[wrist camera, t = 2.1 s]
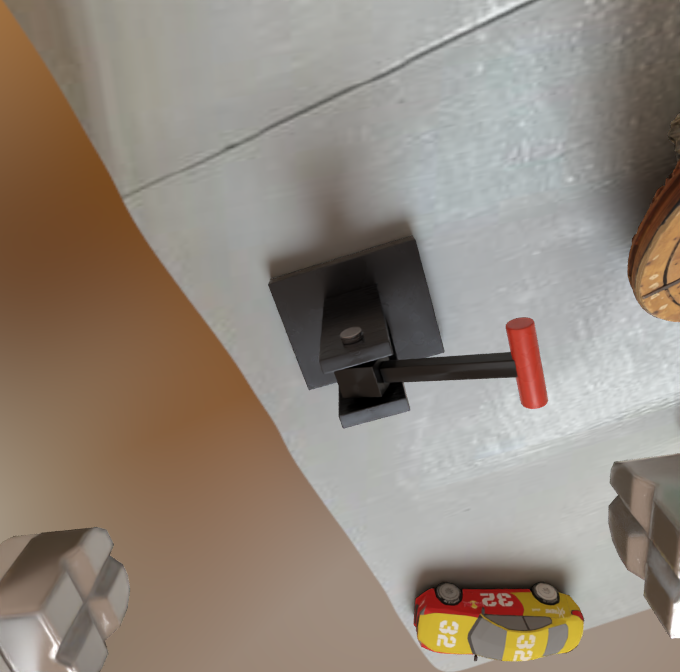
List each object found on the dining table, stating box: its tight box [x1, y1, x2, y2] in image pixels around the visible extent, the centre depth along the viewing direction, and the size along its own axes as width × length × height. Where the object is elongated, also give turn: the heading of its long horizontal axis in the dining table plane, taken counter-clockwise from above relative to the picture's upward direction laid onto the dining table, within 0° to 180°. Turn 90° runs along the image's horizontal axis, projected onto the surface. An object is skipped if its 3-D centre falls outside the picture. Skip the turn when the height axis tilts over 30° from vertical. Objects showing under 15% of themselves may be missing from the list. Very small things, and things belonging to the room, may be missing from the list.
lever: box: [334, 317, 548, 409], centre depth 30 cm, size 12×5×2 cm, turn 108°
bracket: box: [268, 235, 444, 428], centre depth 37 cm, size 12×10×13 cm
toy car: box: [414, 582, 584, 661], centre depth 54 cm, size 8×17×5 cm, turn 90°
